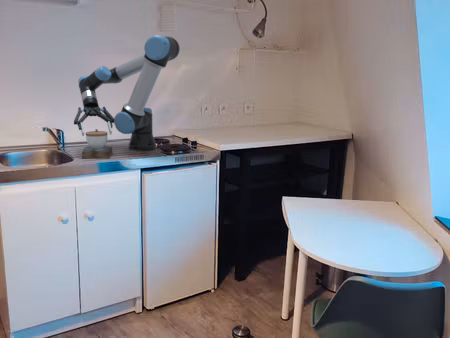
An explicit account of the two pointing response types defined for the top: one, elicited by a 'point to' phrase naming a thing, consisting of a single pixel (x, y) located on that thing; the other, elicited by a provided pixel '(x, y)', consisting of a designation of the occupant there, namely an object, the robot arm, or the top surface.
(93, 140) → the lidded jar
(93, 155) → the dish stand
